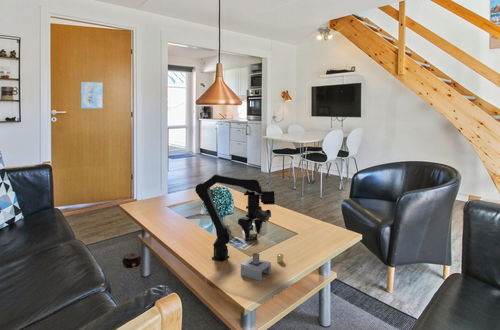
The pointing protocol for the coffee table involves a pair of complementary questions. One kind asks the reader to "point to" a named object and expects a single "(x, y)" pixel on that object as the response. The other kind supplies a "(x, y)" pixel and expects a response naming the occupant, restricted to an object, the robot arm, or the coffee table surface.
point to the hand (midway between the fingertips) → (253, 235)
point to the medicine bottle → (252, 234)
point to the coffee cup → (131, 260)
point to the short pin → (279, 258)
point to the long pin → (256, 259)
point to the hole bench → (255, 269)
